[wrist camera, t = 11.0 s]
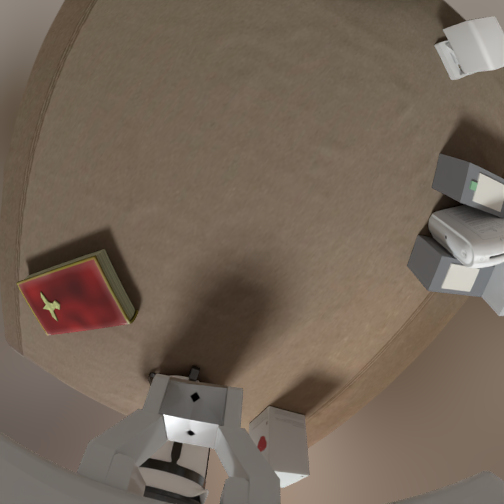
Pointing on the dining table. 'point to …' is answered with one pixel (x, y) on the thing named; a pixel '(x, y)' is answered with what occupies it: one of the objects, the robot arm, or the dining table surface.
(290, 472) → the supplement box
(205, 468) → the coffee press
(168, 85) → the dining table surface
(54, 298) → the hardcover book
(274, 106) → the dining table surface
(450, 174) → the module bay
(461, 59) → the security camera
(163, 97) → the dining table surface
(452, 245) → the photo printer
